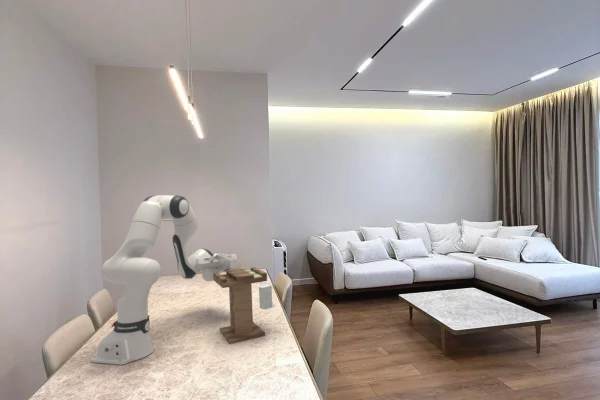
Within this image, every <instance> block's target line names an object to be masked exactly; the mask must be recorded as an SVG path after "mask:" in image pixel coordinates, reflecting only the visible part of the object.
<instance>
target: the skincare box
mask: <svg viewBox="0 0 600 400" xmlns="http://www.w3.org/2000/svg"><path fill="white" fill-rule="evenodd" d="M272 291H273V290H272V284H271V285H270V284H264V285H261V286H258V296H259V299H258V300H259V308H260V309H262V310H267V309H269V308H272V307H273V292H272Z"/></svg>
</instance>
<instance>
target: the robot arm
mask: <svg viewBox="0 0 600 400" xmlns="http://www.w3.org/2000/svg"><path fill="white" fill-rule="evenodd" d="M162 219H163V220H171V221H172V223H173V225H174V233H173V235H172V237H171V238H172V243H173V249H174V253H175V258H176V261H177V262H176V263H177V271H178V273H179V275H180V277H182V278H183V279H188V280H189V279H191V280H192V279H193V278H194V277H195V276H196V275H197V274H199V272H201V275H202V279H203V280H204V281H205V282H209V283H210V282H213V281H214V278H213V273H216V272H218V273H219V274H222V273H223V272H226V271H230V270H233V268H230V267H228V266H227V265H225V264H223V263H222V262H220V261H218V260H216V259H217V254H216V255H215V254H213V253H212V251H210V250H208V249H206V248H202V247H201V248H199V249H197V250H196V251H194V252H193V253H192V254H191V255H189V256H188V255H187V251H186V247H187V244H188V242H189V241H190V240H191V239H192V237H193V236H194V234H195V233H196V232H197V230H198V226H199V225H198V218H197V216H196V213H195V212H194V210H193V207H191V204H190V203H189V201H188V200H187V198H186V197H185V196H181V195H170V194H158V195H149V196H147V197H146V198H145V199H143V201H142V202H141V203H140V204H139V206H138V207H137V210H136V212H135V213H134V215H133V218H132V221H131V224H130V226H129V229H128V232H127V235H126V237H125V240H124V241H123V243H122V245H121V246H120V247H119V249H118V250H117V252H116V253H115V254H114V255H112V256H111V257H110V258H108V259H107V260H106V261H105V262H104V263H103V264H102V267H101V276H102V279H104V280H105V281H106V282H109V283H112V284H115V285H125V291H124V295H122V296H121V297H119V298H118V300H117V302H116V308H117V311H116V313H117V314H116V315H117V320H114V322H113V323H111V327H110V328H113V330H112V331H110V332H109V333H108V334H107V335H106V336H105V337H104V338H102V339H101V341H99V344H98V346H97V351H96V352H95V353H94V354H93V355H92V356H91V358H90V362H91V363H98V364H108V365H109V364H110V365H121V366H122V365H125V364H129V363H130V362H133V361H137V360H140V359H143V358H145V357H148V356H149V355H151V354H152V353H153V352H154V349H155V348H154V345H153V344H152V340H151V339H152V338H151V333H150V327H151V326H150V325H151V323H150V316H149V303H148V301H149V296H150V292H151V290H152V287H153V286H154V284H156V282H158V280H160V278H161V273H162V267H161V264H160V262H158V261H157V260H156V259H152V258H150V257H143V256H144V255H145V254H146V252H148V251H149V250H151V249H152V248H154V246H155V244H156V241H157V236H158V233H159V231H160V226H161V222H162ZM224 254H226V253H224ZM226 255H228V256H230V257H232V258H234V259H236V260H237V262H238V261H239V260H238V255H237V253H232V254H226Z"/></svg>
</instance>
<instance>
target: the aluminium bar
mask: <svg viewBox="0 0 600 400" xmlns="http://www.w3.org/2000/svg"><path fill="white" fill-rule="evenodd" d="M216 254H217V259H216V260H218V261H220V262H222V263H223V264H225V265H227V266H228V267H230V268H232V269H233V268H238V261H237V260H236V259H234V258H232V257H230V256H228V255H229V254H225V253H224V252H221V251H220V252H215V253H214V255H216Z"/></svg>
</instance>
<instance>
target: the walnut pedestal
mask: <svg viewBox="0 0 600 400" xmlns="http://www.w3.org/2000/svg"><path fill="white" fill-rule="evenodd" d="M225 272H226V273H225V274H222V273H220V274H219V273H218V272H216V273H213V278H214V280H213V281H214V282H215V283H216V284H217V285H219V286H220V287H221V288H222V289H226V288H228V294H229V317H230V318H229V320H230V322H229V323H230V325H228V326H224V327H219V332H220V334H221V335H222V336H223V338H224V339H225V341H227V342H228V344H229V345H232V344H236V343H240V342H244V341H248V340H252V339H256V338H262V337H264V336H266V333H265V331H264V330H263V329H262V328H261V327H259V325H258V324H256V323H255V322H254V317H253V316H254V315H253V291H252V290H253V289H252V286H253V285H252V284H257V283H262V282H268V273H267V272H265V271H263V270H262V269H259V268H257V267H254V266H253V267H250V270H245V269H243V268H239V269H230V270H227V271H225Z"/></svg>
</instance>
